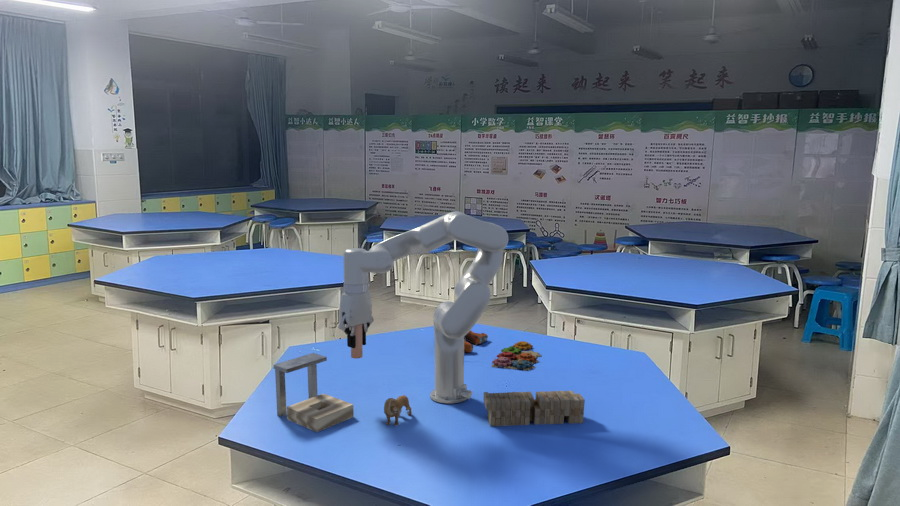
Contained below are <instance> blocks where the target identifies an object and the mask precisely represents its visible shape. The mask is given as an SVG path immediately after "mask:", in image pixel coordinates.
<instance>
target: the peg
mask: <svg viewBox="0 0 900 506" xmlns="http://www.w3.org/2000/svg"><path fill="white" fill-rule="evenodd" d="M354 335H355V338H356V347H355V348H351V347H350V357H351V359H356V360H357V359H361V358H363V345H362V324H359V325H356V326H355V329H354Z"/></svg>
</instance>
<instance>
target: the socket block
mask: <svg viewBox="0 0 900 506" xmlns="http://www.w3.org/2000/svg"><path fill="white" fill-rule="evenodd" d="M286 411H287V415H286V420H287V421H290V422H291V423H295V424H297V425H299V426H301V427H304V428H306V429H308V430H311V431H312V432H315V433H319V432H321V431H323V430H327V429H328V428H331V427H333V426H336V425H338V424H341V423H342V422H345V421H347V420H350V419H352V418H354V415H355V413H354V411H355V410H354V404H353V403H350V402H349V401H345V400H343V399H339V398H336V397H335V396H332V395H329V394H326V393H321V394H319V395H318V396H315V397H312V398H310V399H309V398H307V399H304V400H301V401H298V402H296V403H293V404H291V405H288V406H286Z"/></svg>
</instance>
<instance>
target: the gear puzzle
mask: <svg viewBox="0 0 900 506" xmlns="http://www.w3.org/2000/svg"><path fill="white" fill-rule="evenodd" d="M533 347H534V346H533V344H532V343H529V342H527V341H525V340H521V341H517V342H515V343H514V344H513V345H510V346H508V347H504V348H503V349H501V350H500V351H501V353H498V354H496V357H497V358H494V360H492V361H491V368H495V369H498V368H503V369H507V370H509V369H510V370H515V371H516V370H523V371H526V372H527V371H529V372H531V370H535V368H536V366H534V364H538V363H539V359H537V358H541V357H542V354H540V352H538V351H534V350H532V348H533Z"/></svg>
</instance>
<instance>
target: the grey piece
mask: <svg viewBox="0 0 900 506" xmlns="http://www.w3.org/2000/svg"><path fill="white" fill-rule="evenodd" d="M327 360H328V359H327V356H325V355H321V354H318V353H315V352H312V353H308V354H305V355H301V356H298V357H294V358H292V359H288V360H285V361H281V362H279V363H278V362H277V363H274V364H273V369H274V372H275V375H274V376H275V393H276V394H275V395H276V396H275V397H276V411H277V412H276V415H277V416H278V417H280V416H281V418H282V417H284V416H287V392H286V374H289V373H292V372H295V371H298V370H302V369H304V368H307V386H308V387H307V388H308V389H307V391H308V393H307V394H308V399H310V398H312V397H315V396H318V394H319V393H318V370H317V368H318V367H317V364H320V363H324V362H327Z"/></svg>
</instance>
